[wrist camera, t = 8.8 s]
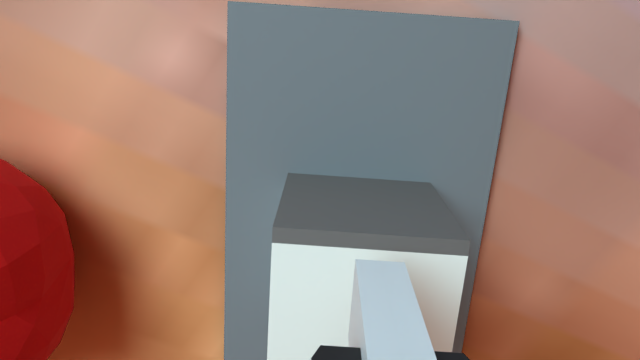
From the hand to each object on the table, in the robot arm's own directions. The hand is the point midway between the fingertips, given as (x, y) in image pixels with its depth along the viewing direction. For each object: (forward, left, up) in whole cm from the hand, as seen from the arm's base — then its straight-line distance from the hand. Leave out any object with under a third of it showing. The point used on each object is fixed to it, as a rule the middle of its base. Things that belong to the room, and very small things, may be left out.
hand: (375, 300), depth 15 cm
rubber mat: (0, +5, -10) cm, 11 cm away
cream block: (0, -1, -6) cm, 6 cm away
